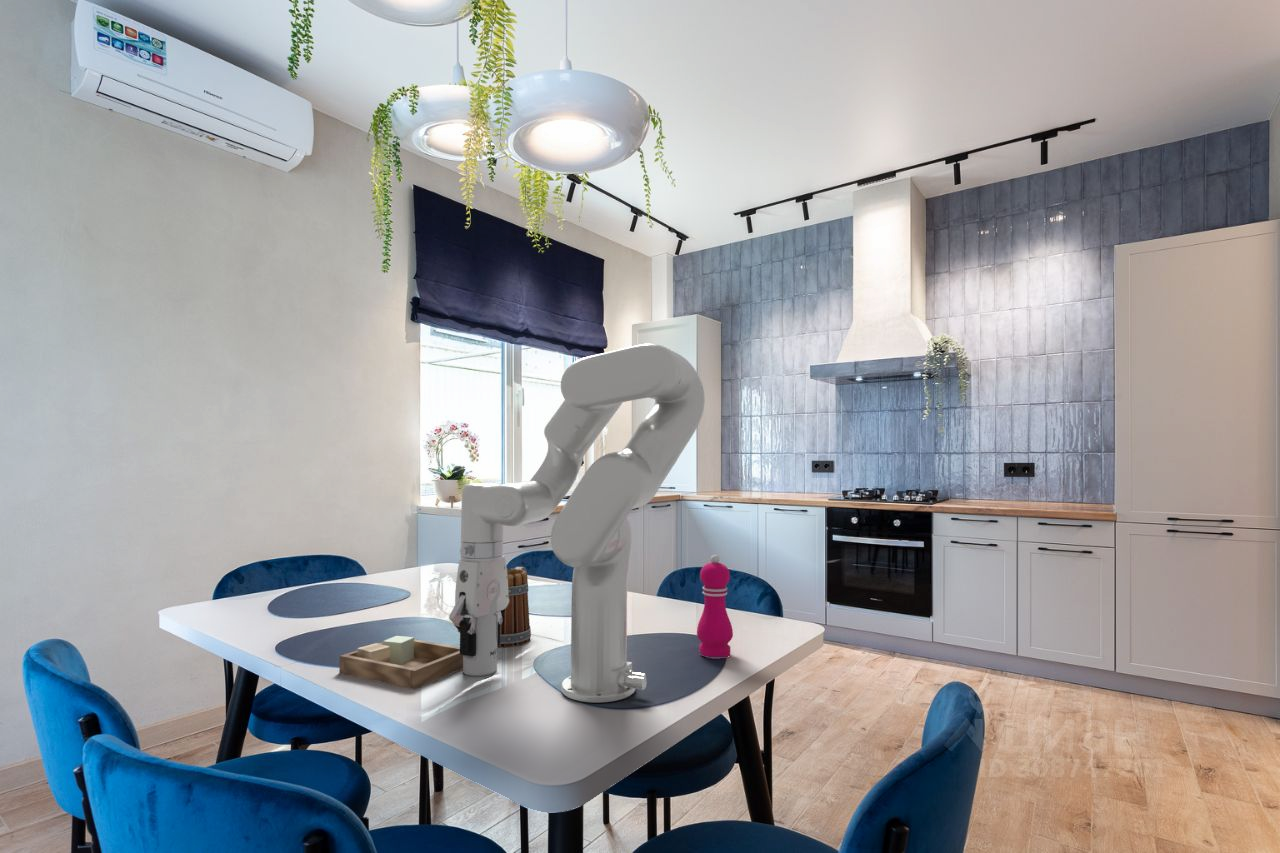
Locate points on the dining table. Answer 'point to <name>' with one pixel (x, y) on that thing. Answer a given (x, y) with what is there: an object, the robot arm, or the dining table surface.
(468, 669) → the energy drink can
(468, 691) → the dining table surface
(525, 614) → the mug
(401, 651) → the sage block
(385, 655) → the beech block
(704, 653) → the pepper mill
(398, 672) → the tray
